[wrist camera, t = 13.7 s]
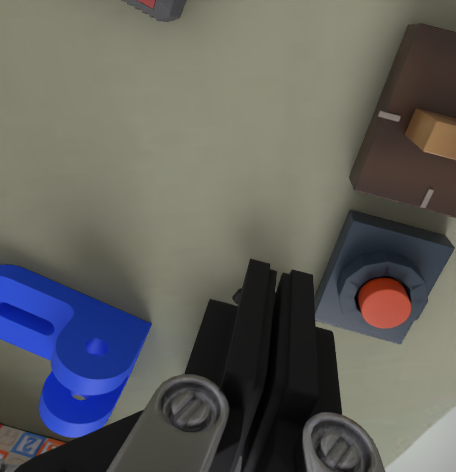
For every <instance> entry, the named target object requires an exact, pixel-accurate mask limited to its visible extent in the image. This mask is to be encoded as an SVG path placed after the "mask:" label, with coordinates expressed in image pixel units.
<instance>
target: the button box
mask: <svg viewBox="0 0 456 472" xmlns="http://www.w3.org/2000/svg"><path fill="white" fill-rule="evenodd" d="M454 249H455V247H454V246H453V245H452V243H451V242H450V241H449V240H448V238H447V237H446V236H445V235H441V234H438V233H434V232H430V231H426V230H423V229H419V228H415V227H412V226H408V225H404V224H401V223H397V222H393V221H389V220H386V219H382V218H378V217H375V216H371V215H367V214H364V213H360V212H356V211H352V210H350V211H349V213H348V216H347V218H346V221H345V223H344V226H343V228H342V231H341V233H340V236H339V238H338V241H337V243H336V246H335V248H334V251H333V253H332V256H331V258H330V261H329V263H328V266H327V268H326V271H325V273H324V275H323V278H322V280H321V283H320V285H319V288H318V290H317V293H316V295H315V298H314V305H315V321H318V322H322V323H326V324H329V325H333V326H336V327H340V328H343V329H347V330H351V331H354V332H358V333H361V334H365V335H368V336H372V337H376V338H379V339H383V340H386V341H390V342H393V343H397V344H401V343H402V341H403V339H404V338H405V336H406V334H407V332H408V331H409V329H410V327H411V325H412V323H413V322H414V321H415V320H417V319H418V318H419V316H420V314H421V313H422V311H423V309H424V307H425V306H426V304H427V302H428V295H429V293H430V291H431V290H432V288H433V286H434V284H435V282H436V281H437V279H438V277H439V275H440V274H441V272H442V270H443V268H444V266H445V265H446V263H447V261H448V259H449V257H450V256H451V254H452V252H453V250H454ZM376 278H391V279H394V280H396V281H398V282H399V283H401V284H402V286H403V287H404V288H405V291H406V293H407V295H408V297H409V300H410V302H411V313H410V315H409V317H408V318H407V320H406V321H405V322H403V323H402V324H400V325H398V326H396V327H393V328H377V327H374V326H372V325H370V324H369V323H368V322H366V320H365V319H364V318H363V316H362V313H361V309H360V305H359V300H358V295H359V292H360V290H361V288H362V287H363V286H364V285H365V284H366V283H367V282H369V281H371V280H373V279H376Z"/></svg>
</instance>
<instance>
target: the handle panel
mask: <svg viewBox="0 0 456 472" xmlns="http://www.w3.org/2000/svg"><path fill="white" fill-rule="evenodd" d="M417 108H418V109H422V110H425V111H429V112H433V113H437V114H441V115H445V116H449V117H452V118H456V32H453V31H449V30H445V29H441V28H437V27H433V26H429V25H425V24H412V25H408V26H407V29H406V32H405V34H404V37H403V39H402V42H401V45H400V47H399V50H398V52H397V55H396V57H395V60H394V63H393V65H392V68H391V70H390V73H389V76H388V78H387V81H386V83H385V86H384V89H383V91H382V94H381V96H380V99H379V102H378V104H377V107H376V109H375V112H374V114H373V117H372V120H371V122H370V125H369V127H368V130H367V133H366V135H365V138H364V140H363V143H362V146H361V148H360V151H359V153H358V156H357V159H356V161H355V164H354V166H353V169H352V171H351V174H350V177H349V178H350V181H351V184H352V186H353V189H354V190H355V191H358V192H362V193H366V194H369V195H373V196H377V197H381V198H384V199H388V200H392V201H396V202H399V203H403V204H407V205H410V206H414V207H418V208H422V209H425V210H429V211H433V212H436V213H440V214H444V215H448V216H451V217H455V218H456V160H453V159H450V158H446V157H442V156H438V155H435V154H431V153H427V152H424V151H422V150H421V149H420V148H419V147H418V146H417V145H416V144H415V143H413V142H412V141H411V140H410V139H409V138H408V137H407V136H406V135H405V133H406V130H407V128H408V126H409V123H410V121H411V119H412V116H413V114H414V112H415V109H417Z"/></svg>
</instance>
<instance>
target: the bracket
mask: <svg viewBox="0 0 456 472" xmlns="http://www.w3.org/2000/svg"><path fill="white" fill-rule="evenodd" d="M151 325H152V324H151V323H149V322H146V321H144V320H142V319H139V318H137V317H135V316H132V315H130V314H128V313H126V312H123V311H121V310H119V309H116V308H114V307H112V306H110V305H107V304H105V303H103V302H100V301H98V300H96V299H93V298H91V297H89V296H87V295H84V294H82V293H80V292H77V291H75V290H73V289H70V288H68V287H66V286H64V285H61V284H59V283H57V282H54V281H52V280H50V279H47V278H45V277H43V276H41V275H38V274H36V273H34V272H31V271H29V270H27V269H24V268H22V267H19V266H14V265H0V339H1V340H4V341H6V342H8V343H11V344H13V345H16V346H18V347H20V348H23V349H25V350H27V351H30V352H32V353H34V354H37V355H39V356H41V357H44V358H46V359H48V360H51V367H52V372H51V373H50V375H49V376H48V378H47V379H46V381H45V383H44V386H43V390H42V393H41V397H40V401H39V413H40V416H41V419H42V421H43V422H44V424H45V425H46V426H47V427H48V428H49V429H50V430H52V431H53V432H55V433H57V434H59V435H62V436H65V437H82V436H84V435H86V434H89V433H91V432H93V431H96V430H98V429H100V428H102V427H103V426H104V425H105V423H106V422H107V421H108V419H109V417H110V415H111V413H112V411H113V409H114V407H115V405H116V403H117V401H118V399H119V397H120V395H121V393H122V391H123V389H124V387H125V384H126V382H127V380H128V378H129V376H130V374H131V372H132V369H133V367H134V365H135V362H136V360H137V358H138V355H139V353H140V351H141V348H142V346H143V344H144V341H145V339H146V337H147V334H148V332H149V329H150V327H151ZM73 395H81V396H83V397H84V398H85V399H86V400H77V399H75V398H73V397H72V396H73Z"/></svg>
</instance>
